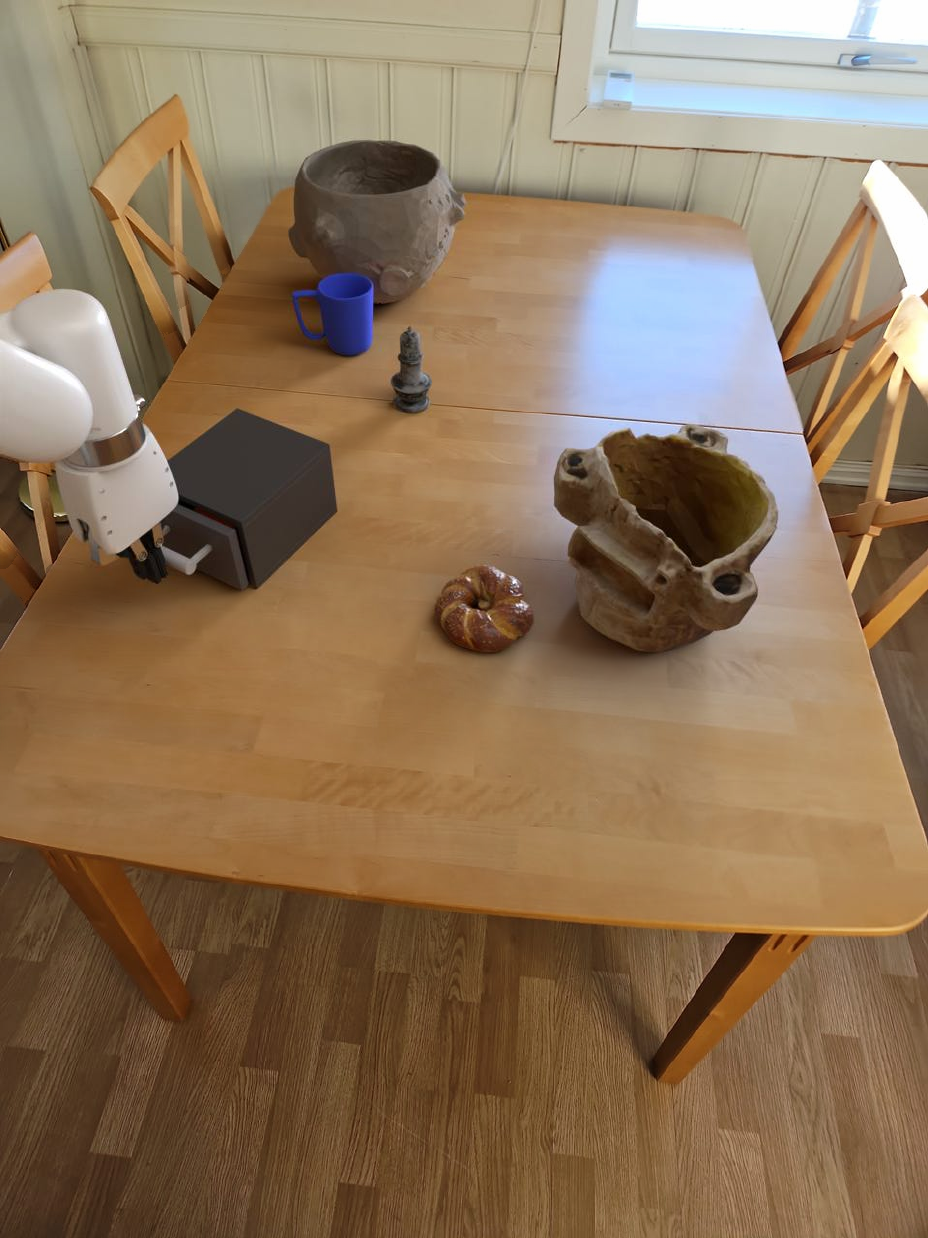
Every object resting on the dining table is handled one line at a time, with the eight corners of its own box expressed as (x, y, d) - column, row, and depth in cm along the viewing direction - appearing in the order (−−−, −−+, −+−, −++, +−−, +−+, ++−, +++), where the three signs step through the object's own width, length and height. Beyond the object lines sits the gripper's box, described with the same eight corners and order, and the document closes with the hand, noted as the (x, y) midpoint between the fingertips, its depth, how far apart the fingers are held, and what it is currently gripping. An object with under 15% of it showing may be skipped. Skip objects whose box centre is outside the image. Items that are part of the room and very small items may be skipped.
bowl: (462, 332, 133) (466, 203, 118) (285, 326, 132) (266, 196, 117) (464, 255, 151) (467, 134, 136) (308, 250, 150) (294, 128, 135)
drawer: (216, 615, 90) (200, 560, 84) (131, 573, 94) (109, 517, 88) (319, 517, 101) (311, 462, 95) (239, 482, 105) (226, 427, 99)
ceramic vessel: (865, 568, 87) (836, 472, 66) (698, 726, 91) (622, 683, 71) (714, 452, 99) (649, 340, 78) (573, 596, 103) (477, 527, 83)
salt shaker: (437, 395, 121) (437, 319, 112) (423, 417, 117) (422, 340, 108) (400, 387, 122) (397, 311, 113) (385, 409, 118) (381, 332, 109)
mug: (299, 334, 131) (291, 273, 123) (375, 332, 132) (372, 271, 124) (298, 362, 125) (290, 300, 118) (377, 359, 127) (374, 298, 119)
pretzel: (431, 579, 96) (431, 556, 93) (524, 576, 97) (527, 553, 94) (437, 659, 88) (437, 637, 85) (537, 655, 89) (541, 633, 86)
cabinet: (257, 589, 94) (241, 522, 86) (166, 546, 98) (143, 478, 91) (337, 511, 103) (329, 444, 95) (251, 474, 107) (237, 407, 100)
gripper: (129, 381, 79) (175, 522, 93) (3, 463, 71) (73, 606, 85) (189, 405, 77) (226, 546, 91) (65, 493, 68) (127, 634, 82)
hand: (152, 575), depth 88 cm, fingers closed
